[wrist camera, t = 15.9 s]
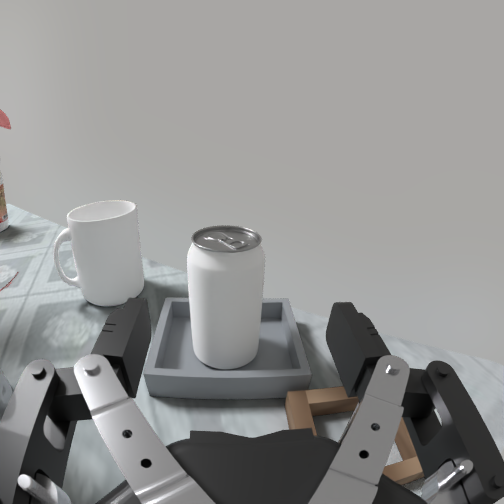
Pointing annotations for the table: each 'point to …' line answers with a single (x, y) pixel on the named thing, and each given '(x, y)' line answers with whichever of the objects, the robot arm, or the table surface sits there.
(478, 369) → the table surface
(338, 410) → the walnut collar
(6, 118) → the figurine
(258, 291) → the can
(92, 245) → the mug
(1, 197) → the fruit juice
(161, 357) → the grey shallow rectangular tray
